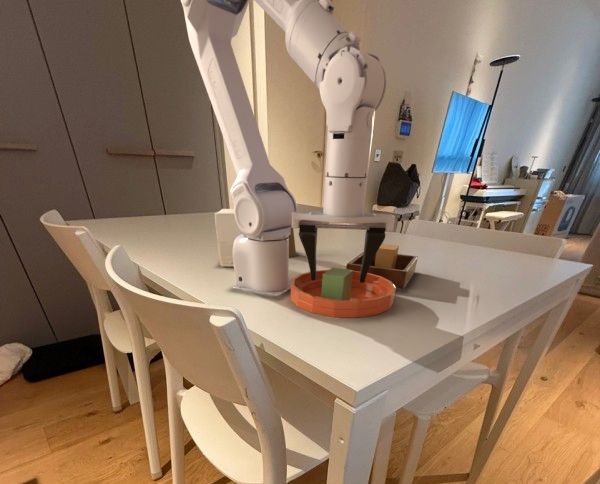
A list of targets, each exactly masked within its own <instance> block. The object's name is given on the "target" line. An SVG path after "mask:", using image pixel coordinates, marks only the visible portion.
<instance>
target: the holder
mask: <svg viewBox="0 0 600 484" xmlns="http://www.w3.org/2000/svg"><path fill="white" fill-rule="evenodd" d="M363 254H364V251H362V252H361V253H360V254H359V255H357V256H355V257H354V258H353V259H351V260H350V261H349V262H347V263H346V268H345V269H348V270H353V271H361V266H362V260H363ZM418 258H419V256H418V255H409V254H402V253H398V255H397V260H396V266H395V269H389V268H382V267H375V260H376V254H375V256H374V258H373V260H372V262H371V265H370V267H369V270H368V272H367V273H370V274H374V275H378V276H381V277H383V278H385V279H387V280H389V281H391V282H392V283H393V284H394V286H395V288H396V289H398V290H399V289H400V290H404V289H405V287H406V286H407V285H408V283H409V281H410V280H411V278H412V277H413V275H414V274H415V272H416V267H417V263H418Z"/></svg>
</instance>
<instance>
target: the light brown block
mask: <svg viewBox="0 0 600 484" xmlns="http://www.w3.org/2000/svg"><path fill="white" fill-rule="evenodd" d="M399 248H400V245H397V244H396V245H395V244H386V243H382V245H381V246H380V248H379V249H378V251H377V253H376V260H375V267H382V268H389V269H395V266H396V260H397V255H398V254H399Z"/></svg>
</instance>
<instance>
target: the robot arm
mask: <svg viewBox="0 0 600 484" xmlns="http://www.w3.org/2000/svg"><path fill="white" fill-rule="evenodd" d="M250 1H251V0H180V2H181V6H182V9H183V14H184V20H185V25H186V32H187V36H188V41H189V44H190V47H191V50H192V53H193V56H194V59H195V61H196V65H197V67H198V71H199V73H200V76H201V78H202V81H203V84H204V87H205V90H206V92H207V95H208V99H209V101H210V103H211V106H212V109H213V112H214V115H215V118H216V120H217V123H218V126H219V128H220V132H221V135H222V138H223V141H224V142H225V145H226V149H227V151H228V154H229V157H230V159H231V162H232V165H233V169H234V171H235V174H236V178H235V180H234V182H233V184H232V186H231V187H230V190H229V194H230V197H231V200H232V203H233V209H234V215H235V220H236V223H237V225H238V227H239V229H240V230H241V232H242V233H243V234H242V235H239V236H238V237H237V238H236V239H235V242H234V245H233V263H234V267H233V275H234V283H235V286H233V289H234V290H235V289H236V290H240V291H246V292H252V293H258V294H262V295H263V294H264V295H268V296H274V297H280V296H282V295H283V294H285V293H286V292H288V291H289V290H291V281H290V257H289V235H291V228H293V229H298V237H299V240H300V242H301V244H302V247H303V249H304V252H305V255H306V260H307V262H308V267H309V272H310V274H311V280H315V279H316V271H317V243H318V230H319V229H329V230H331V229H332V230H354V231H355V230H356V231H358V230H359V231H365V235H364V245H363V246H364V247H363V252H364V254H363V260H362V266H361V271H360V283H365V279H366V275H367V272H368V270H369V267H370V265H371V262H372V260H373V258H374V256H375V254H376V253H377V251H378V249H379V248H380V246H381V245H382V244H384V241H385V239H386V236H387V235H386V232H388V233H393V232H394V230H395V229H394V228H395V223H396V216H395V215H394V214H383V213H369V212H365V211H364V210H365V204H366V203H365V202H366V194H367V186H368V185H367V184H368V177H369V169H370V159H371V152H372V151H371V149H372V141H373V131H374V123H375V115H376V112H377V110H378V109H379V107H380V106H381V104H382V102H383V100H384V98H385V94H386V89H387V75H386V71H385V68H384V66H383V64H382V63H381V61H380V57H379V56H377V55H375V54H374V53H367V52H364V51H362V50H361V47H360V44H361V42H362V38H361V37H360V35H359V34H358V33H357V32H355V31H354V30H351V31H350V32H349V31H348V30H347V29H346V28H345V27H344V25H343V24H342V23H341V22H340V21H339V20H338V19H337V18H336V16H335V15H334V12H335V10H336V6H335V4H334V3H333V2H332V1H331V0H253V1H254V2H255V3H256V4H257V5H258V6H259V7H260V8H261V9H262V10H263V11H264V12H265V13H266V14H267V15H268V17H270V18H271V20H273V21H274V22H275V23H276V24H277V25H278V26H279V27H280V28H281V30H282V31H283V32H284V33H285V37H284V39H285V40H284V41H285V49H286V51H287V54H288V55H289V56H290V58H291V59H292V60H293V61H294V62H295V63H296V64H297V66H298V67H299V68H300V69H301V70H302V71H303V72H304V74H305V75H306V76H307V77H308V78H309V80H310V81H311V82H312V83H313V84H314V85H315V86H316V88H317V89H318V90H319V95H320V96H319V97H320V99H321V103H322V105H323V107H324V109H325V113H326V121H325V122H326V123H325V124H326V125H325V126H326V127H327V134H326V151H325V170H324V171H325V173H324V189H323V190H324V191H323V208H322V209H323V210H322V211H299V209H298V208H299V207H298V203H297V200H296V198H295V196H294V194H293V193H292V192H291V191H290V190H289V188H288V186H287V184H286V181H285V178H284V176H283V175H282V174H280V172H278V171H277V170H276V169H275V168H274V167H273V166H272V165H271V163H270V160H269V156H268V153H267V151H266V148H265V145H264V141H263V138H262V136H261V132H260V129H259V126H258V123H257V120H256V117H255V114H254V110H253V107H252V104H251V101H250V98H249V95H248V92H247V90H246V86H245V82H244V80H243V77H242V74H241V70H240V68H239V65H238V61H237V58H236V55H235V53H234V52H235V51H234V49H233V46H232V39H233V38H235V37H236V36H237V35H238V32H239V31H240V27H241V25H242V22H243V19H244V17H245V14H246V12H247V9H248V6H249V4H250Z"/></svg>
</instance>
